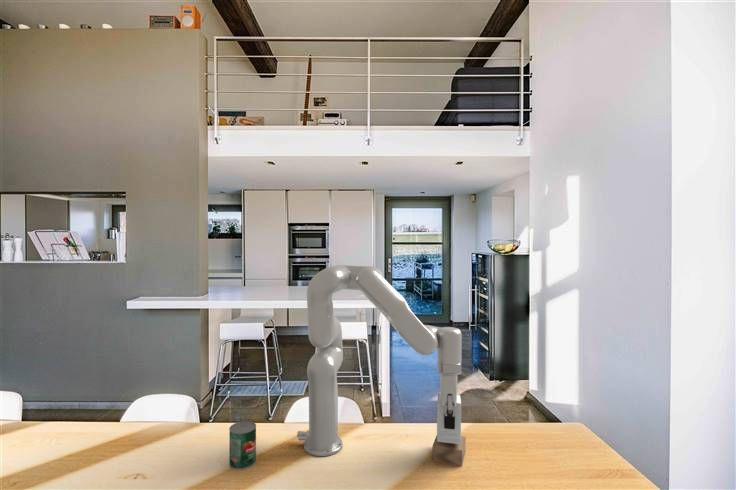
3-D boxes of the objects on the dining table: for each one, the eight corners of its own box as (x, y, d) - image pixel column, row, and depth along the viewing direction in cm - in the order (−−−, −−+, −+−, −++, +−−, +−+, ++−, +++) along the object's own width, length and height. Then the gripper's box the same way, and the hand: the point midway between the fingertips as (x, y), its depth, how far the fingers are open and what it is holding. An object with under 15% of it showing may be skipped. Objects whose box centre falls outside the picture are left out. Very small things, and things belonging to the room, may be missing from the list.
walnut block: (432, 461, 123) (432, 445, 122) (437, 447, 131) (437, 432, 131) (462, 467, 119) (462, 450, 119) (465, 452, 128) (465, 436, 128)
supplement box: (461, 444, 121) (461, 403, 121) (436, 442, 122) (436, 401, 122) (460, 433, 128) (460, 394, 128) (437, 431, 130) (437, 392, 129)
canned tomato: (254, 468, 118) (254, 431, 118) (227, 471, 117) (227, 433, 117) (257, 454, 126) (257, 420, 126) (231, 456, 125) (231, 421, 125)
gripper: (436, 358, 134) (436, 410, 134) (437, 375, 117) (437, 434, 117) (459, 359, 133) (459, 411, 133) (463, 376, 116) (463, 436, 116)
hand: (448, 422), depth 125 cm, fingers closed on supplement box, 7 cm apart
